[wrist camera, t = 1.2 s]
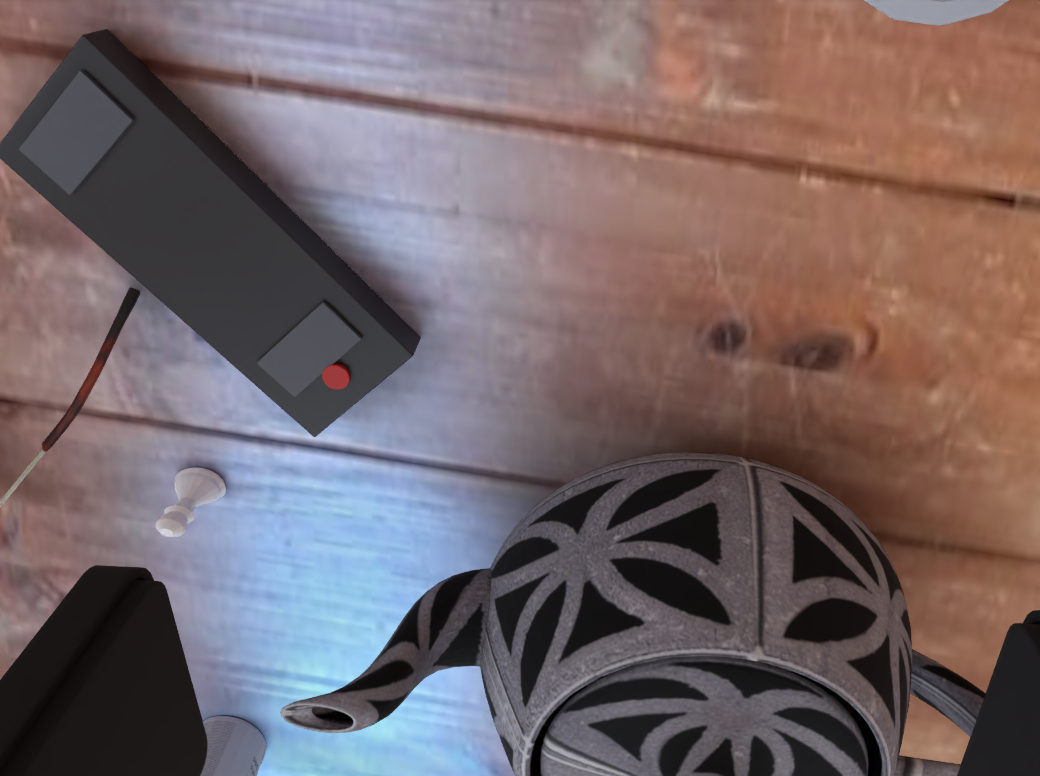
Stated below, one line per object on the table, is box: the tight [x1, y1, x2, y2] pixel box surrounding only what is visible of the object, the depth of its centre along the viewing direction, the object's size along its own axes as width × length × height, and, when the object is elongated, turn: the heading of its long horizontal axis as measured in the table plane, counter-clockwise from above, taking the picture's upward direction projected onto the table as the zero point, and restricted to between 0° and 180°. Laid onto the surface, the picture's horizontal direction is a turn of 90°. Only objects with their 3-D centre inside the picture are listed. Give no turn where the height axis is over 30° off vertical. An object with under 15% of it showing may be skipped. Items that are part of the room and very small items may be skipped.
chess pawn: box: [155, 467, 226, 537], centre depth 41 cm, size 3×2×4 cm
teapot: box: [280, 452, 986, 776], centre depth 37 cm, size 19×31×15 cm, turn 83°
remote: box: [0, 29, 420, 437], centre depth 36 cm, size 17×6×2 cm, turn 42°
